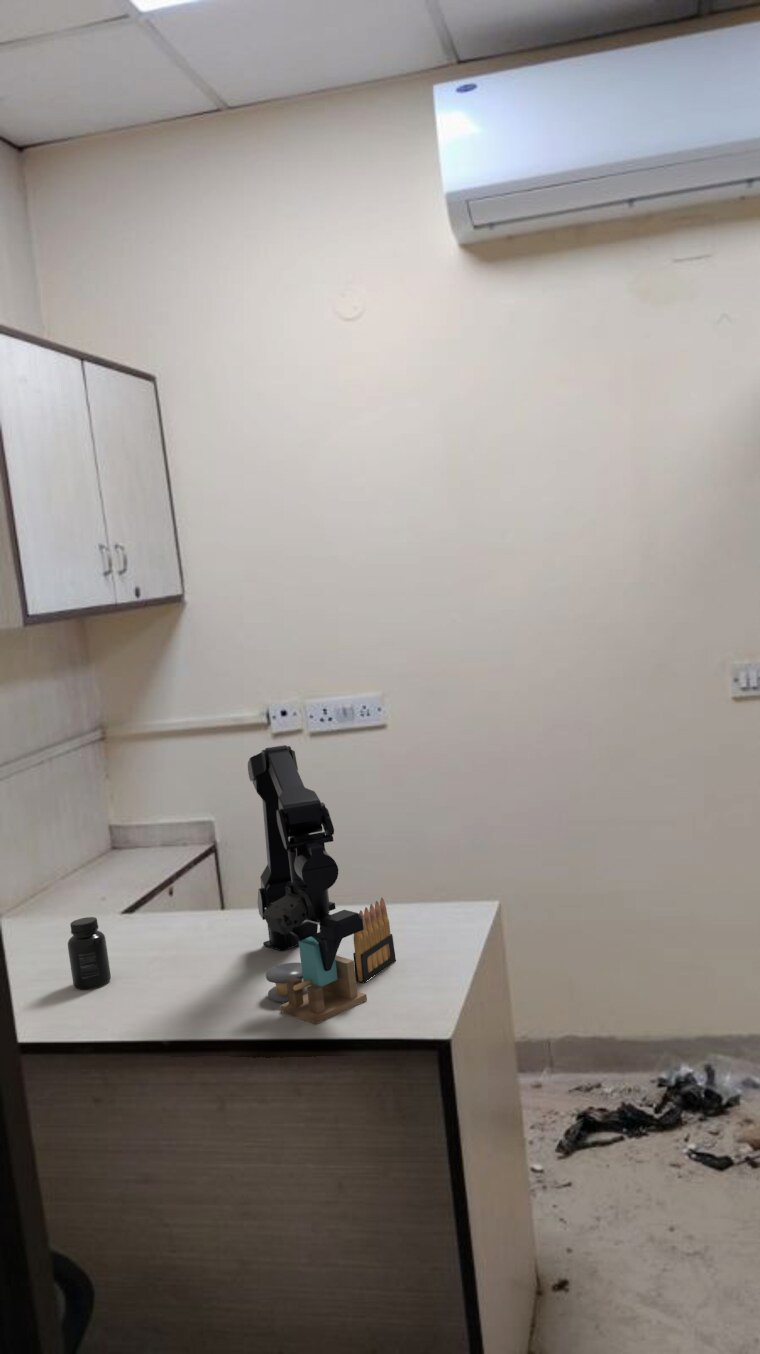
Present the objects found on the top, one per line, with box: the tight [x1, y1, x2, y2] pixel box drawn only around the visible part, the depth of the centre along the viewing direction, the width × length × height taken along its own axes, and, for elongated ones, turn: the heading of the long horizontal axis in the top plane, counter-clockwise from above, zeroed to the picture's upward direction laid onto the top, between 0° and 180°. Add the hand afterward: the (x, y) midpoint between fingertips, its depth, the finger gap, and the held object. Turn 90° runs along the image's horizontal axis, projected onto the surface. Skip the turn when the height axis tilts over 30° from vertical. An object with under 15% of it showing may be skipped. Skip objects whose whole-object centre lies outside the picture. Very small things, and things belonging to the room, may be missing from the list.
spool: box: [265, 962, 311, 1004], centre depth 176 cm, size 8×8×4 cm
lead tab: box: [293, 937, 338, 991], centre depth 168 cm, size 4×7×7 cm, turn 133°
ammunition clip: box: [353, 897, 397, 984], centre depth 182 cm, size 11×2×12 cm, turn 148°
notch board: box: [279, 954, 368, 1025], centre depth 169 cm, size 9×11×7 cm
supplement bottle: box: [67, 916, 112, 991], centre depth 191 cm, size 7×7×12 cm
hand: (319, 967), depth 169 cm, fingers closed on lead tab, 4 cm apart
